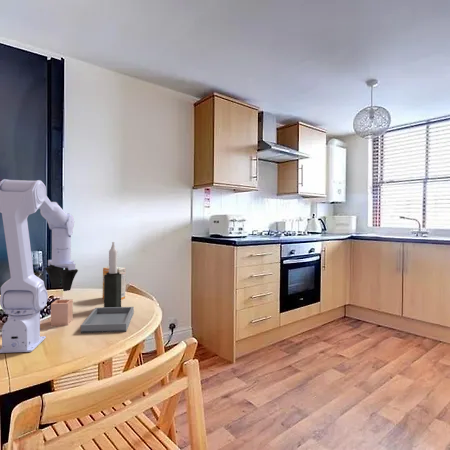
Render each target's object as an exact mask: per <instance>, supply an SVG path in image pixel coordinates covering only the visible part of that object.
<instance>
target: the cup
mask: <svg viewBox="0 0 450 450" xmlns="http://www.w3.org/2000/svg"><path fill="white" fill-rule="evenodd" d="M73 300H74V299H56V300H54V301H53V302H51V304H50V326H51V327H54V326H55V327H56V326H57V327H58V326H62V327H63V326H69V325H70V324H71V323H72V322H73V320H74V319H73V318H74V317H73V312H74V311H73V310H74V306H73V304H74V301H73Z"/></svg>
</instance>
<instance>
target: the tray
mask: <svg viewBox="0 0 450 450" xmlns="http://www.w3.org/2000/svg"><path fill="white" fill-rule="evenodd" d="M134 312H135V311H134V306H121V307H104V306H103V307H102V306H101V307H94V309H93V310H92V311H91V313H90V314H89V315H88V316H87V317H86V319H85V320H84V321H83V322H82V323H81V325H80V334H98V333H103V334H104V333H124V332H125V333H126V332H127V331H128V328H129V326H130V324H131V321H132V319H133V316H134Z"/></svg>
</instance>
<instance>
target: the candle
mask: <svg viewBox="0 0 450 450" xmlns="http://www.w3.org/2000/svg"><path fill="white" fill-rule="evenodd" d="M108 250H109V251H108V267H109V272H108V273H106V275H104V299H103V307H122V300H121V274H119V272H117V267H118V250H117V248H116V246H115V242H114V241H112V242H111V247H110V249H108Z"/></svg>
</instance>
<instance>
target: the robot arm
mask: <svg viewBox="0 0 450 450" xmlns="http://www.w3.org/2000/svg"><path fill="white" fill-rule="evenodd" d="M38 210H40V212H39V213H40V215H41V216H42V218H43V219H45V220H46V222H47V224H48V228H49V230H51V259H48V260H47V266H48V267H47V266H46V267H45V268H44V270H45V271H46V273H47V275H48V277H49V281H50V284H51V287H52V288H53V289H54V288H59V287H60V284H61V285H62V290H63V292H67V291H71V288H72V285H73V281H74V279H75V277H76V275H77V273H78V271H79V269H77V268H76V263H75V262H74V261H75V260H72V258H71V257H72V255H71V254H72V253H71V252H72V251H71V250H72V249H71V247H72V235H73V229H74V226H75V219H74V216H73V215H72V214H70V213H66V212H65V210H64V209H63V208H62V207H61V206H60V205H59V203H58V202H57V201H51V200H50V199H49V197H48V196H47V187H46V185H45V184H44V182H43V181H42V180H41V179H38V180H25V179H23V180H21V179H8V178H7V179H6V178H4V179H1V181H0V213H1V216H2V217H1V218H2V224H3V231H4V238H5V245H6V247H5V248H6V253H7V260H8V267H9V274H10V278H9V279H7V280H6V281H5V282H4V283H3V284H1V287H0V308H1V310H3V311H4V312H5V315H7V316H8V317H7V319H6V321H5V323H4V324H3V325H2V329H1V348H0V354H5V353H8V354H9V353H30V352H33V351H34V350H36V348H38V346H39V345H40V344H41V343H42V342H43V341H44V340H45V339H46V336H44V335H41V311H43V309H45V307H46V305H47V302H48V297H49V296H48V291H47V288H46V287H45V281H44V280H43V279H41V277H39V276H37V275H35V273H34V266H33V257H32V248H31V240H30V232H29V223H28V217H29V216H30V215H32V214H35V213H36V212H37V211H38Z"/></svg>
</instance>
